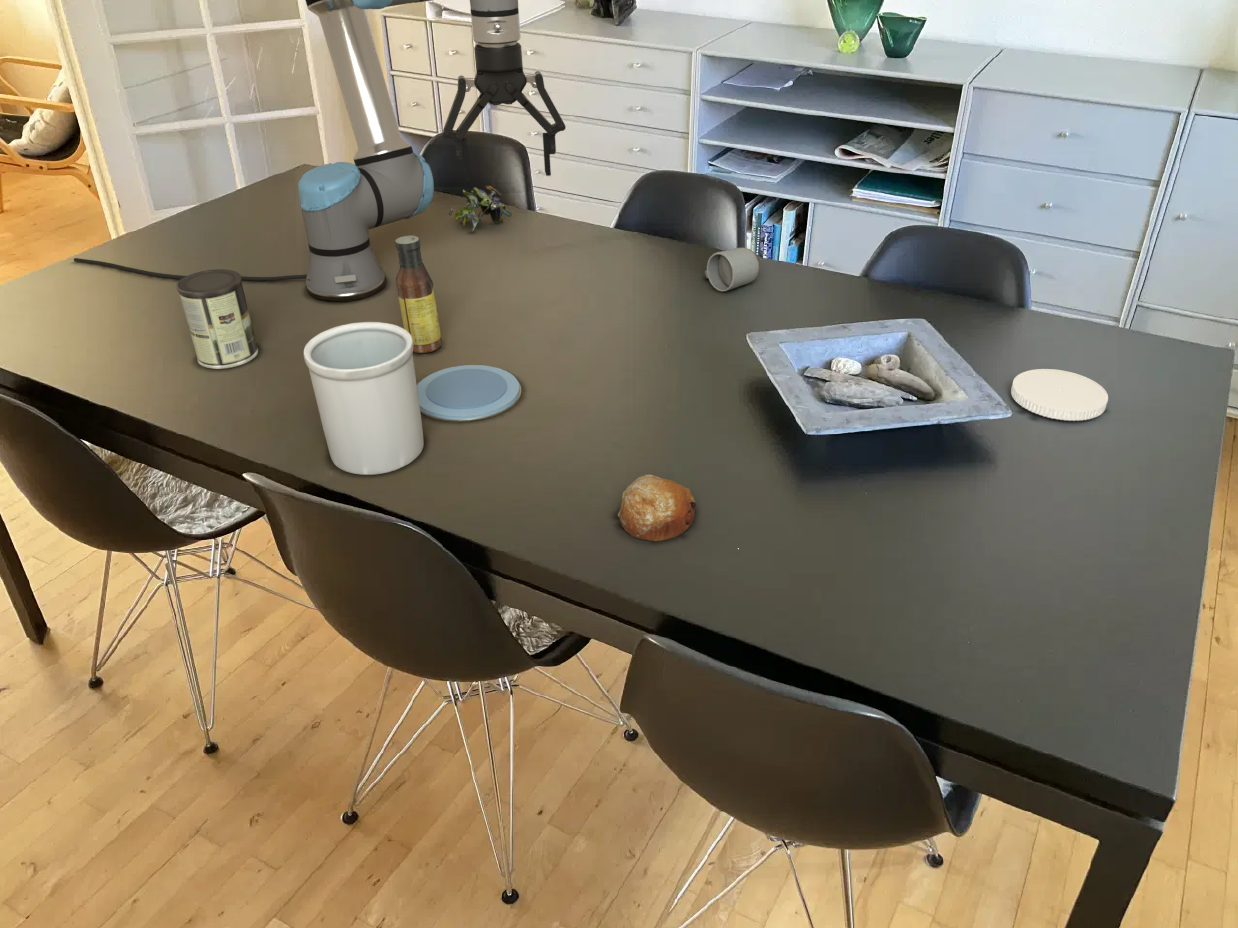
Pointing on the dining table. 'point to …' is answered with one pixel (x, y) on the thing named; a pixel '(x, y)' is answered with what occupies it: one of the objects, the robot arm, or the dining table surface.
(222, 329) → the coffee can
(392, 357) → the utensil holder
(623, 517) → the bread roll
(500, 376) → the blue plate
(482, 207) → the passion flower
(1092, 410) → the plastic lid
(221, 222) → the dining table surface
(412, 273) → the sauce bottle
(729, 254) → the ceramic mug
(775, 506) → the dining table surface
